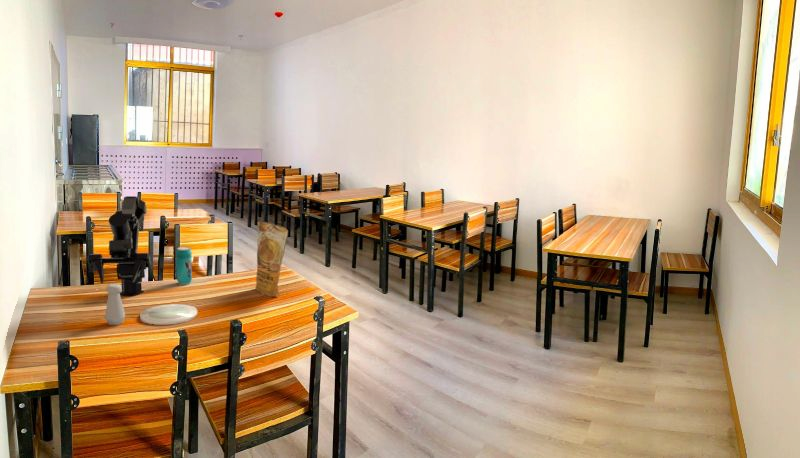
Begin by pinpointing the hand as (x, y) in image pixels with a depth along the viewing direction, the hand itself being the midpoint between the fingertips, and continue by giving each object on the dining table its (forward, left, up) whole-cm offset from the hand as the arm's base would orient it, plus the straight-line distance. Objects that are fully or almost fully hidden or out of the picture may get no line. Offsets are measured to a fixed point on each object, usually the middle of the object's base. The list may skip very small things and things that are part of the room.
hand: (117, 282), depth 175 cm
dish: (+13, +8, -12) cm, 20 cm away
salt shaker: (+3, -5, -12) cm, 14 cm away
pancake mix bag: (+28, +47, -12) cm, 57 cm away
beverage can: (-9, +42, -12) cm, 45 cm away
